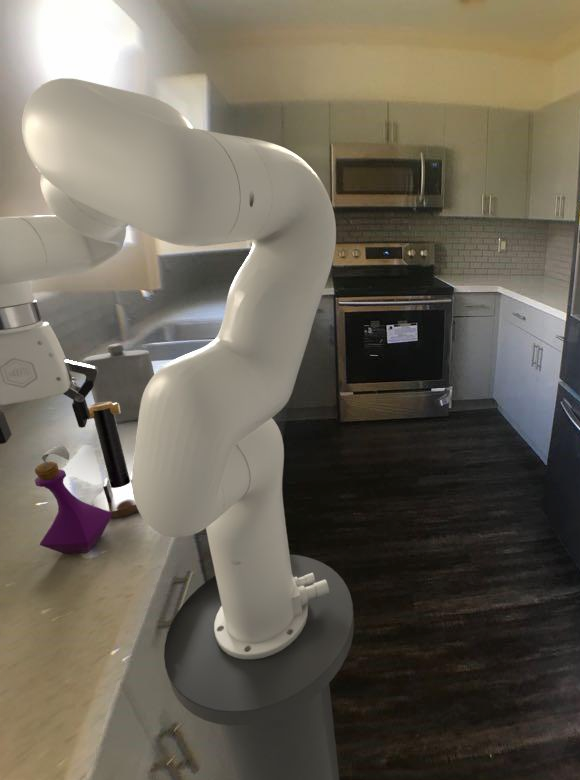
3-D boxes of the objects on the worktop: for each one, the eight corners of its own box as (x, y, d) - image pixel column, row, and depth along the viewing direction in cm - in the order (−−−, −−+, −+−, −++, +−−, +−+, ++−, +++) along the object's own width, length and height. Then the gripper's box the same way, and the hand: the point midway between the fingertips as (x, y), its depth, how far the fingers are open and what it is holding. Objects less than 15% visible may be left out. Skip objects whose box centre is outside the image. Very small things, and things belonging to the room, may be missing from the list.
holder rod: (136, 477, 87) (135, 483, 84) (105, 485, 85) (103, 491, 82) (118, 399, 84) (116, 402, 81) (85, 405, 82) (82, 408, 79)
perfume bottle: (45, 561, 72) (7, 462, 65) (73, 530, 79) (42, 437, 72) (93, 559, 72) (60, 460, 65) (117, 528, 79) (89, 435, 72)
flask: (164, 408, 127) (148, 338, 119) (162, 417, 121) (145, 344, 114) (103, 417, 122) (83, 345, 115) (98, 426, 117) (77, 352, 110)
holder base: (154, 508, 84) (148, 485, 82) (92, 524, 80) (84, 501, 78) (154, 481, 92) (149, 459, 91) (97, 495, 89) (90, 472, 87)
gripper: (-90, 333, 55) (-37, 458, 61) (76, 314, 62) (110, 428, 68) (-65, 322, 61) (-19, 435, 68) (83, 305, 68) (113, 410, 74)
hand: (45, 431), depth 68 cm, fingers open, 9 cm apart
